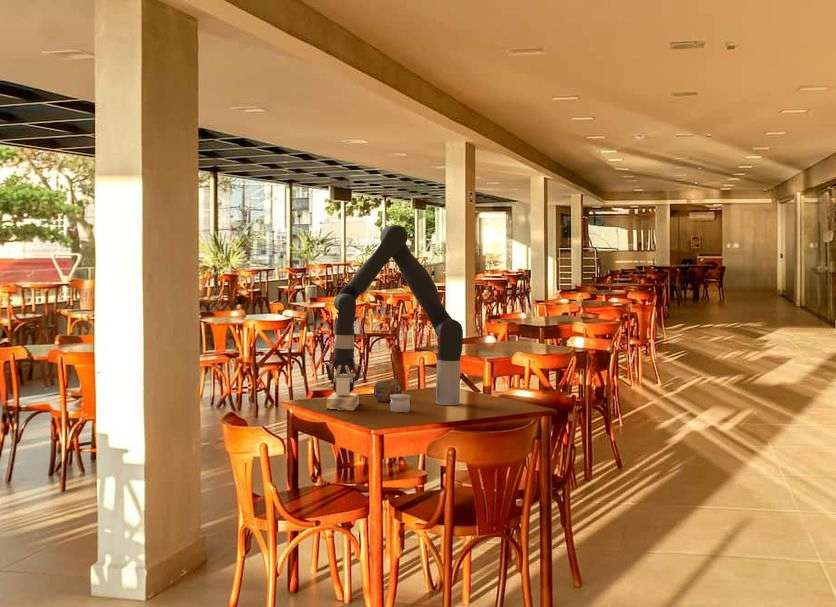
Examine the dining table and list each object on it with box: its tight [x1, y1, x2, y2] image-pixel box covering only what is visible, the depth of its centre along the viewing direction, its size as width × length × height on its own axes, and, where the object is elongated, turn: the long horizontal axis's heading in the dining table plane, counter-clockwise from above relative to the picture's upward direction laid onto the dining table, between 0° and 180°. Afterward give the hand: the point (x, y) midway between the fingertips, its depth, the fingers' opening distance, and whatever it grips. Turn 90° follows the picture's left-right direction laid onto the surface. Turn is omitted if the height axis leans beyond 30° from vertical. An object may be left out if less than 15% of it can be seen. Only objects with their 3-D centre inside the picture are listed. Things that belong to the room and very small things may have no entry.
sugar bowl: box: [390, 393, 411, 413], centre depth 345 cm, size 8×8×6 cm
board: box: [326, 392, 360, 411], centre depth 353 cm, size 10×16×4 cm, turn 177°
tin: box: [373, 378, 403, 403], centre depth 371 cm, size 15×3×8 cm, turn 143°
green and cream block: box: [335, 374, 352, 395], centre depth 352 cm, size 5×5×7 cm
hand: (343, 391), depth 352 cm, fingers closed on green and cream block, 5 cm apart
